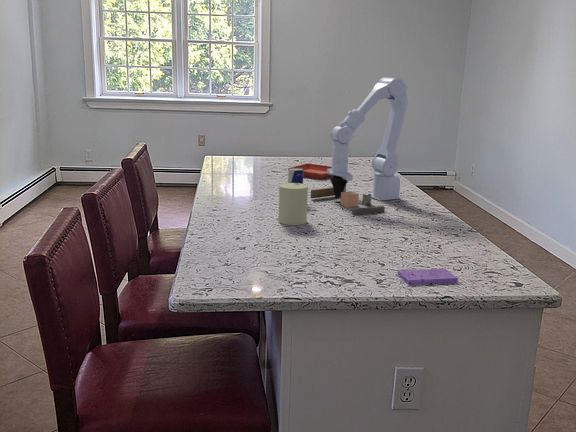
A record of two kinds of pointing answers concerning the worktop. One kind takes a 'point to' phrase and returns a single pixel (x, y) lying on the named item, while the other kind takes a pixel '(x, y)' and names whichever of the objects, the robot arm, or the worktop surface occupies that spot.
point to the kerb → (368, 210)
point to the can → (293, 203)
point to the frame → (364, 199)
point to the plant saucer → (314, 170)
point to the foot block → (349, 199)
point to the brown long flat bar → (322, 192)
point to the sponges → (427, 276)
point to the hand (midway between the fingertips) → (338, 196)
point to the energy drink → (295, 175)
